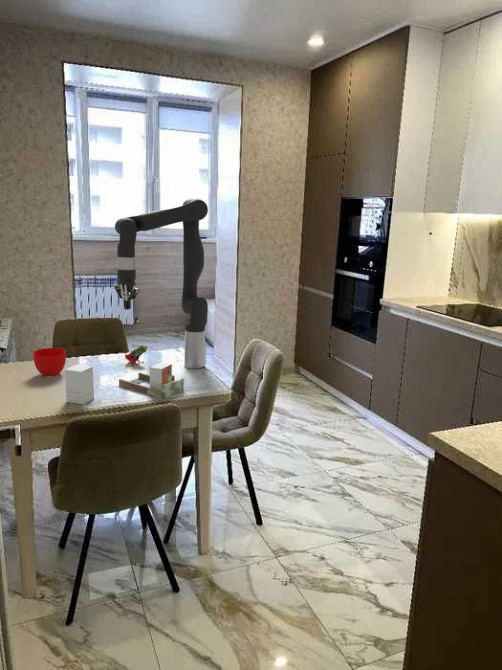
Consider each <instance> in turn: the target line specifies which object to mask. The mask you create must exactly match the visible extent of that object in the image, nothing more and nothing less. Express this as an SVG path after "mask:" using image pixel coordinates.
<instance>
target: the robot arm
mask: <svg viewBox="0 0 502 670" xmlns="http://www.w3.org/2000/svg"><path fill="white" fill-rule="evenodd" d="M208 213H209V208H208V205H207V203H206V202H205V200H202V199H199V198H187V199H186V200H184V202H183V203H182V205H179V206H176V207H173V208H167V209H159V210H154V211H149V212H145V213H141V214H138V215H133V216H132V215H131V216H126V217H123V218H119V219H118V220H116V222H115V225H114V230H115V232H116V233H117V234H118V235H119V241H118V243H117V247H116V248H117V250H116V252H117V253H116V254H117V255H116V257H117V259H116V275H117V276H116V277H117V280H118V282H117V285H114V287H113V288H114V290H115V292H116V294H117V295H118V296H117V297H119V299H122V301H123V309H124V310H126V311H127V310H131V308H132V301H133V300H135V299H136V297H137V295H138V294H139V292H140V290H141V289H140V288H139V287H138V288H137V286H136V282H135V281H136V279H137V268H136V267H137V266H136V264H137V263H136V262H137V261H136V248H135V247H136V242H137V241H136V240H137V233H139V232H148V231H152V230H155V229H159V228H162V227H163V228H164V227H167V226H170V225H174V224H177V223H182V229H183V237H182V239H183V243H182V244H183V245H182V246H183V247H182V248H183V251H182V254H183V255H182V259H183V260H182V263H183V265H182V266H183V272H182V273H183V276H182V277H183V281H182V283H183V285H182V294H181V296H182V297H181V308H182V311H183V312H184V313H185V314H187V315H190V318H189V319H190V321H189V322H187V323H185V324H184V367H185V368H186V369H192V370H193V369H194V370H195V369H196V370H197V369H198V370H199V369H202V367H203V368H205V366H206V362H207V357H206V355H207V346H206V326H207V323H208V314H209V305H208V301H207V299H206V298H205V297H204V296H200V295H198V281H199V279H200V278H201V277H200V276H201V275H202V273H203V270H204V268H205V267H204V266H205V249H204V244H203V242H202V239H201V235H200V221H201V220H203V219H204V218H206V217H207V215H208Z"/></svg>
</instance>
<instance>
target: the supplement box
mask: <svg viewBox="0 0 502 670" xmlns="http://www.w3.org/2000/svg"><path fill="white" fill-rule="evenodd" d="M64 376H65V377H64V378H65V379H64V381H65V394H66V395H65V396H66V399H65V400H66V402H67V403H73V404H79V405H85V404H86V403H88V402H90V401H92V400H94V399H95V385H94V367H93V366H91V365H84V364H83V365H82V364H74V365H72V366H70V367H68V368H65V369H64Z"/></svg>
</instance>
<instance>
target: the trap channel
mask: <svg viewBox="0 0 502 670" xmlns="http://www.w3.org/2000/svg"><path fill="white" fill-rule="evenodd" d="M144 382H149V383H150V374H148V373H143V372H138V377H136V378H135V379H132V380H125V379H121V378H120V379H118V386H120V387H123V388H126V389H129V390H133V391H135V392H140V393H143V394H146V395H149V396H153V397H157V398H159V399H166V398H168V397H171V396H173V395H175V394H178V393H181V392H184V389H185V387H184V386H185V385H184V384H185V383H184V382H185V380H184V378H183V377H181V378H179V379H178V378H177V379H176V380H175V375H174V374H172V382H170V383H167V384H165V385H162V386H161V391H160V390H157V389H153V388H150V386H146V385H142V384H141V383H144Z"/></svg>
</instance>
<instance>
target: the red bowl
mask: <svg viewBox="0 0 502 670" xmlns="http://www.w3.org/2000/svg"><path fill="white" fill-rule="evenodd" d="M32 355H33V357H32V358H33V364H34V367H35V369H36V370H37V371H38V372H39V373H40V374H41V375H42V376H43V377H45V376H47V377H48V376H53V377H57V376H58V375H60V374H61V372H62V371H63V369H64V368H65V365H66V359H67V351H66V350H65V349H64V348H59V347H47V348H45V347H44V348H40V349H37V350H34V351H33V352H32ZM56 375H57V376H56ZM47 377H46V378H47ZM48 378H49V377H48Z"/></svg>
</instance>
